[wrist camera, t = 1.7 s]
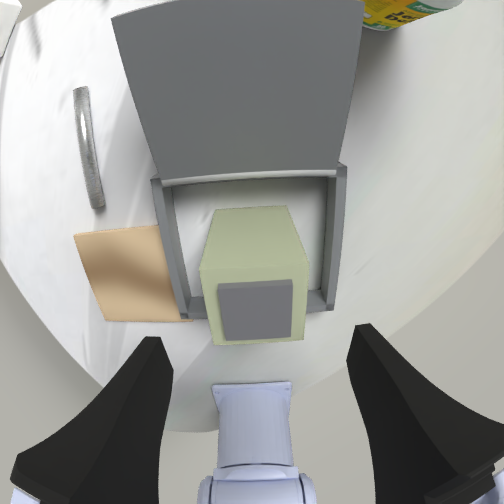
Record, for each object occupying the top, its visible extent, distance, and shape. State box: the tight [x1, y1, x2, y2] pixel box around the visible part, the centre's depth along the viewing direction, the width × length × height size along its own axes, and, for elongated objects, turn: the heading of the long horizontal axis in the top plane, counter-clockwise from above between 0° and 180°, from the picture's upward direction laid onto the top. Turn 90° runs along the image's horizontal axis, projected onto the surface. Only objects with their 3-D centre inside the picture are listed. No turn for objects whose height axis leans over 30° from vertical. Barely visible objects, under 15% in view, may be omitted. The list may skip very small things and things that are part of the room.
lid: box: [111, 0, 365, 186], centre depth 11 cm, size 8×9×7 cm
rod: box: [73, 86, 105, 209], centre depth 14 cm, size 8×1×1 cm, turn 3°
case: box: [150, 162, 347, 319], centre depth 17 cm, size 10×11×2 cm
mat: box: [73, 225, 194, 322], centre depth 19 cm, size 8×8×1 cm
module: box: [199, 205, 309, 345], centre depth 15 cm, size 4×4×7 cm
